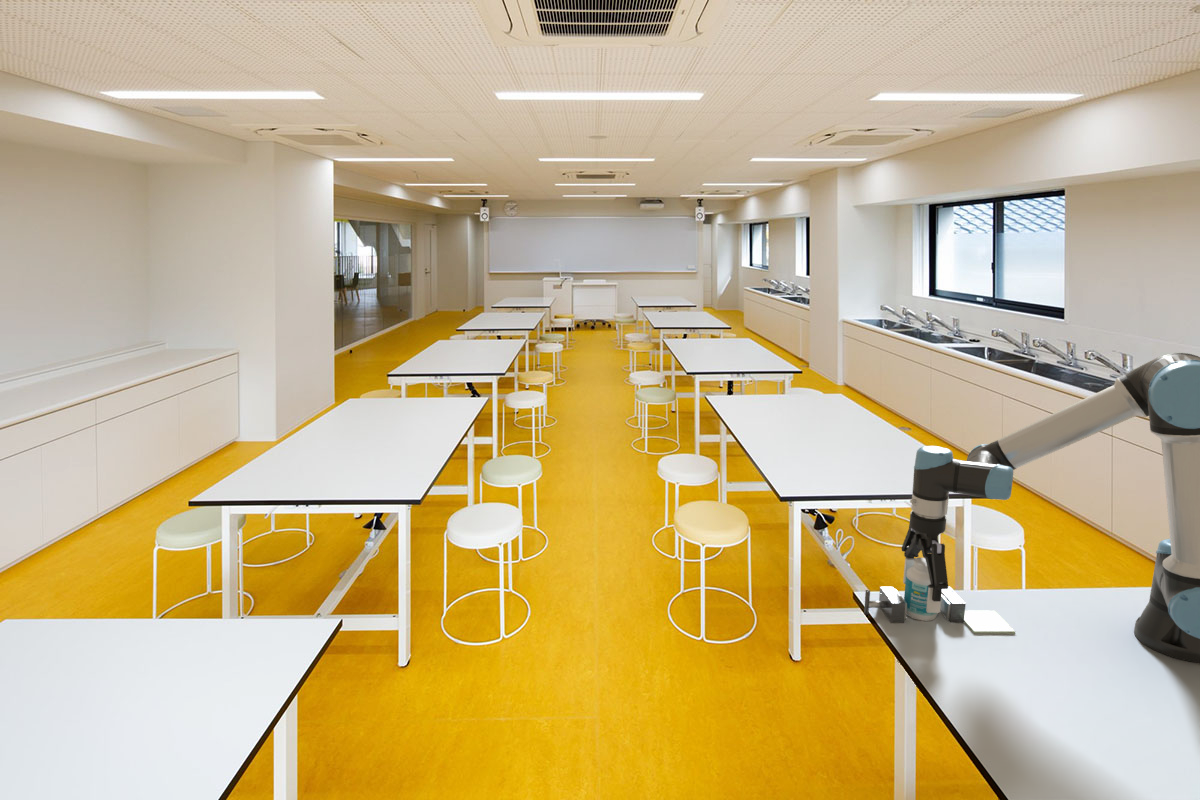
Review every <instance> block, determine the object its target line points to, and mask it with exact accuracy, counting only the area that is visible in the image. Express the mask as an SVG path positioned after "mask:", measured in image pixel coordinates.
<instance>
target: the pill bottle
mask: <svg viewBox="0 0 1200 800" xmlns="http://www.w3.org/2000/svg"><path fill="white" fill-rule="evenodd" d="M915 558H916V559H914V564H913V565H914V566H912V567H910V568H909V569H908V570H907V573H906V583H905V584H904V585H905V587H904V596H903V599H904V600H905V602H906V603H907V612H906V616H908V617H910V618H912V619H913V620H916V621H917V620H918V621H922V622H923V621H924V622H925V621H926V622H928V621H929V622H930V621H933V620H934V619H936V618H937V616H938V613H927V611H926V608H927V598H928V585H930V584H931V582H930V578H929V573H928V568H927V563H926V559H925V558H924V557H915Z"/></svg>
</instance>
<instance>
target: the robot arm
mask: <svg viewBox="0 0 1200 800" xmlns="http://www.w3.org/2000/svg"><path fill="white" fill-rule="evenodd" d="M1134 417H1142V418H1147V417H1148V419H1149V430H1150V433H1152V434H1153V435H1155V436H1156V437H1158V438H1159V439H1160V441H1161V450H1162V451H1161V452H1162V463H1163V475H1164V484H1165V495H1166V509H1167V517H1168V518H1167V519H1168V520H1167V521H1168V528H1169V529H1168V531H1169V538H1167V539H1163V540H1161V541H1159V542H1158V546H1157V550H1156V551H1155V554H1156V557H1155V564H1154V568H1153V569H1154V570H1153V575H1152V580H1151V581H1152V582H1151V588H1150V595H1149V600H1148V603H1147V604H1146V606H1145V608H1144V609H1143V611H1142V613H1140V614H1141V615H1140V616H1139V617H1138V618H1137V619H1136V620H1135V623H1134V629H1133V634H1134V636H1135V637H1136V639H1138V641H1139V642H1141V643H1142V644H1143V645H1145V646H1147V647H1148V648H1150V649H1152V650H1154V651H1156V652H1159V653H1161V654H1163V655H1166V656H1168V657H1172V658H1174V659H1179V660H1182V661H1188V662H1193V663H1200V356H1198V355H1195V354H1192V353H1188V352H1187V353H1186V352H1173V353H1167V354H1164V355H1161V356H1159V357H1156V358H1153V359H1152V360H1149V361H1148V362H1145V363H1144V364H1142V365H1139V366H1138V367H1136V368H1134V369H1132V370H1131V371H1129V372H1126V373H1124V374H1122V375H1120V376H1118V377H1116V379H1115V380H1114V384H1113V385H1111V386H1109V387H1106V388H1104V389H1102V390H1100V391H1098V392H1095V393H1094V394H1091V395H1089V396H1088V397H1085V398H1083V399H1081V400H1079V401H1077V402H1075V403H1073V404H1071V405H1069V406H1066V407H1064V408H1062V409H1060V410H1058V411H1056V412H1054V413H1051V414H1049V415H1047V416H1045V417H1043V418H1042V419H1038V420H1036V421H1034V422H1033V423H1030V424H1029V425H1026V426H1024V427H1022V428H1020V429H1018V430H1016V431H1014V432H1011V433H1010V434H1008V435H1004V436H1003V437H1001V438H999V439H997V440H994V441H992V442H990V443H982V444H978V445H976V446H975V447H973V448H972V450H971V451H970V452H969V453H968V455H967V458H966V460H961V459H956V458H954V454H953V451H952V450H951V449H949V448H947V447H942V446H937V445H925V446H922V447H919V448H918V449H917V450H916V454H915V462H914V466H913V480H912V481H913V482H912V495H911V499H910V500H909V503H910V504H911V511H910V516H909V524H908V530H907V532H906V535H905V538H904V540H903V543H902V545H901V551H902V552H904V553H903V556H904V557H905V558H904V568H903V569H904V570H903V580H902V581H903V584H904V585H905V583H906V573H907V570H908V569H909V568H910V567H912V566H914V565H913V564H914V559H916V558H919V554H920V552H921V554H922V558H925V559H926V563H927V568H928V573H929V578H930V582H931V584H930V585H928V598H927V608H926V611H927V613H937V614H939V613H941V612H940V606H941V596H942V589H948V587H949V580H948V579H949V578H948V571H947V563H946V555H945V554H946V553H945V552H946V545H945V543H939V538H938V537H939V536H940V535H942V534H943V533H945V532H946V527H947V525H946V524H947V516H946V515H948V507H949V500H950V497H949V494H950V493H954V494H958V495H959V494H960V495H966V496H971V497H972V496H973V497H976V498H977V497H978V498H985V499H989V500H999V501H1001V500H1002V501H1007V500H1009V499H1010V498H1011V496H1012V489H1013V482H1014V481H1013V480H1014V471H1015V470H1017V469H1019V468H1021V467H1023V466H1025V465H1027V464H1030V463H1032V462H1034V461H1036V460H1039V459H1042V458H1043V457H1046V456H1048V455H1050V454H1052V453H1055V452H1058V451H1059V450H1062V449H1064V448H1066V447H1068V446H1070V445H1074V444H1075V443H1077V442H1080V441H1082V440H1084V439H1087V438H1089V437H1091V436H1093V435H1096V434H1098V433H1100V432H1103V431H1105V430H1108V429H1110V428H1111V427H1114V426H1117V425H1119V424H1121V423H1123V422H1126V421H1128V420H1130V419H1132V418H1134Z"/></svg>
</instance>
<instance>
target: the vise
mask: <svg viewBox="0 0 1200 800" xmlns="http://www.w3.org/2000/svg"><path fill="white" fill-rule="evenodd" d="M952 591H953V592H952ZM864 592H865V594H864V596H865V597H864V610H863V611H864V612H863V615H865V616H868V615H869V612H870V609H871V608H872V609H881V611H882V612H883V614H884V615H885V616H886V618H887V620H888V621H889V622H890V624H893V623H894V624H899V623H900V624H904V623H905V620H907V614H906V612H907V603H906V602H905V600H904V597H902V595H901V594H900V593H899V592H898V590H897V589H896V588H894V586H879V598H878V600H870V599H871V590H870V589H865V591H864ZM880 593H882V594H880ZM965 611H966V602H965V601H964V600H963V599H962V598H961V597H960V595H958V594H957V592H956V591H954V589H953V588H952V587H951V586H948V589H942V596H941V606H940V613H941V614H942V615H943V616H944V618H945V619H946V620H948V622H949V623H951V624H965V623H964V615H965Z"/></svg>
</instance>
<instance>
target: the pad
mask: <svg viewBox="0 0 1200 800" xmlns="http://www.w3.org/2000/svg"><path fill="white" fill-rule="evenodd" d="M963 624H965V625H966V626H967V628H968V629H969V630H970V631H971V632H972V634H974V635H975V634H977V635H978V634H980V635H981V634H982V635H983V634H985V635H987V634H988V635H989V634H991V635H992V634H994V635H995V634H996V635H1002V634H1003V635H1007V634H1009V635H1011V634H1012V635H1014V634H1016V630H1014V628H1013V627H1011V626H1010V624H1009V623H1008V622H1006V620H1005V619H1004V618H1003V617H1002V616H1001V615H999V613H998V612H996V610H965V615H964V623H963Z"/></svg>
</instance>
